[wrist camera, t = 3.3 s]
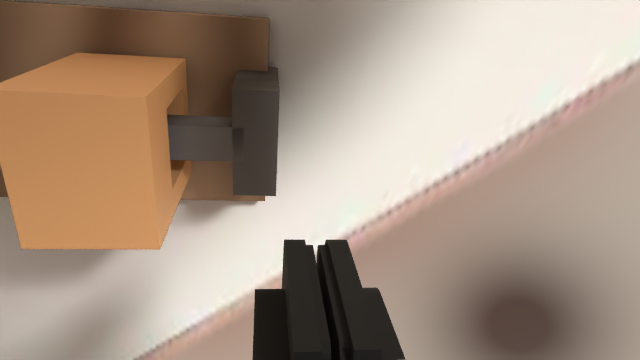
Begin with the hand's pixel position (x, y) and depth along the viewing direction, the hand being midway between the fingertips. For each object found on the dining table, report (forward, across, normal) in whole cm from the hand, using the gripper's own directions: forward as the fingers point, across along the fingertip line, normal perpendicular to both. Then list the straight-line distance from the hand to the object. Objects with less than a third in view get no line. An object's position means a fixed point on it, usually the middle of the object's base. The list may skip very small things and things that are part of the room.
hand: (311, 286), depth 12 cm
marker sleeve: (+13, +8, -1) cm, 15 cm away
